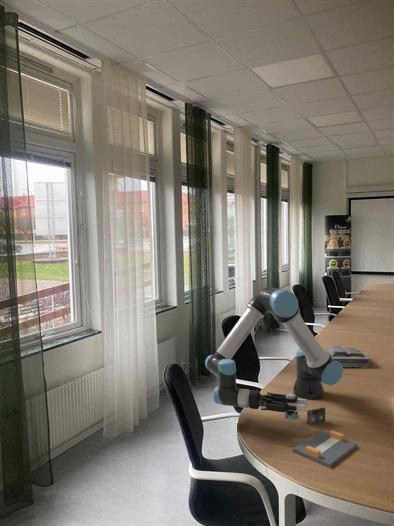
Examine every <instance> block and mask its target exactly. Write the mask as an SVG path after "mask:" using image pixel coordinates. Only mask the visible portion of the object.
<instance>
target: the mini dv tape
mask: <svg viewBox="0 0 394 526" xmlns="http://www.w3.org/2000/svg"><path fill="white" fill-rule="evenodd" d="M325 422H326V408H325V407H318V408H315V409H310V410H309V409H308V410H307V411H306V424H307V425H309V426H312V425H317V424H323V423H325Z"/></svg>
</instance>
